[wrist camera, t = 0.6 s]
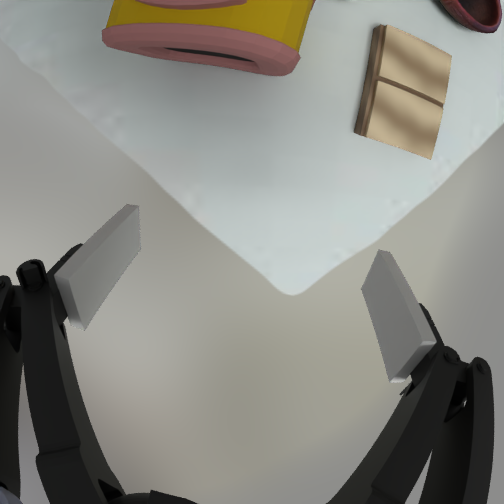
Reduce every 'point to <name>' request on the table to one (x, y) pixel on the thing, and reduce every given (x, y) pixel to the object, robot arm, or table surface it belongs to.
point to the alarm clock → (212, 32)
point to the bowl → (475, 13)
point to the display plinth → (403, 91)
